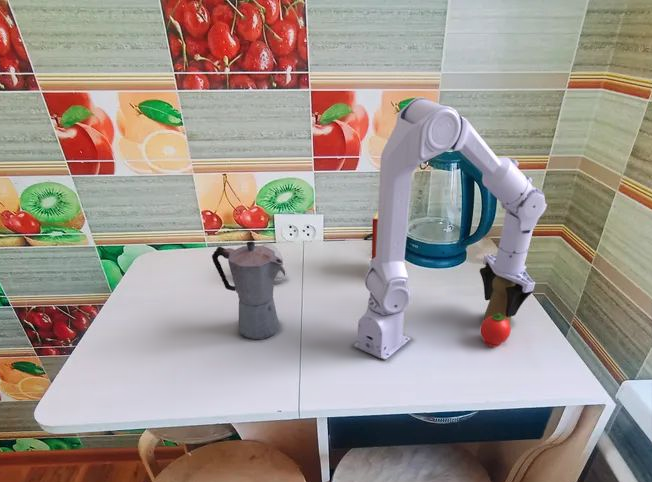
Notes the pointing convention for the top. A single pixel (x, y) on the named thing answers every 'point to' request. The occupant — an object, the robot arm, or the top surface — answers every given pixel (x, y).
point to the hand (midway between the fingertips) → (499, 307)
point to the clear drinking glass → (278, 254)
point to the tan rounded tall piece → (499, 298)
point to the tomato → (495, 330)
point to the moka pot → (252, 287)
